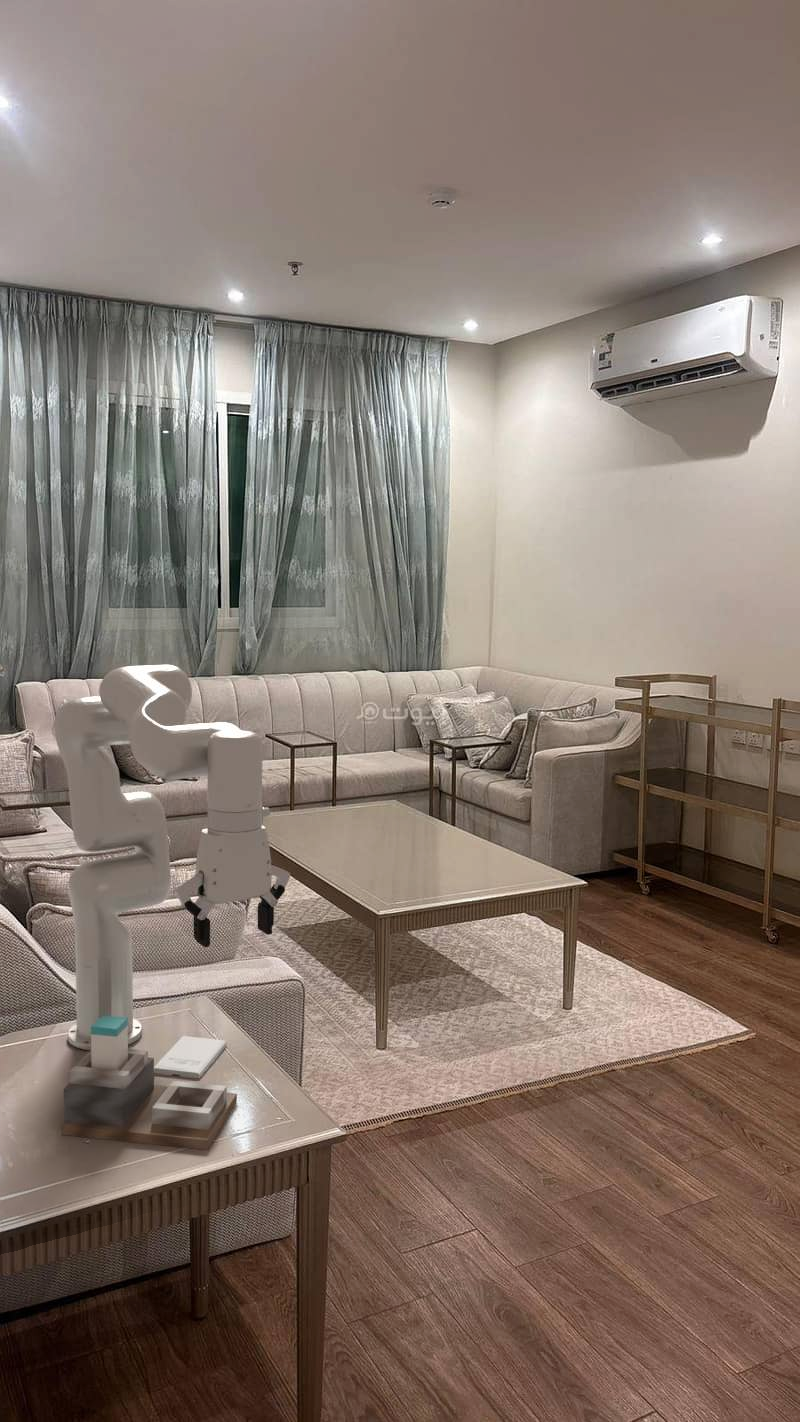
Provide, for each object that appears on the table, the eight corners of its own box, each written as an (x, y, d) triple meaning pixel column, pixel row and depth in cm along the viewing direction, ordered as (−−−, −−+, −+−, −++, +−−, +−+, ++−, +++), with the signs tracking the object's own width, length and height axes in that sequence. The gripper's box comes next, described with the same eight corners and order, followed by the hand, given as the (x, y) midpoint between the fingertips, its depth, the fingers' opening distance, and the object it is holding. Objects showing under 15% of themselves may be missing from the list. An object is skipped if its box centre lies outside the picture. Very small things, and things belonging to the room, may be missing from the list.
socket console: (61, 1134, 157) (60, 1079, 156) (101, 1089, 171) (101, 1038, 170) (207, 1150, 154) (207, 1093, 153) (236, 1102, 167) (236, 1050, 166)
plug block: (91, 1077, 161) (90, 1026, 160) (103, 1065, 165) (102, 1015, 164) (117, 1080, 160) (116, 1028, 159) (128, 1068, 164) (127, 1017, 163)
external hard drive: (226, 1049, 187) (199, 1082, 175) (182, 1044, 189) (152, 1076, 177) (226, 1040, 187) (199, 1072, 175) (181, 1035, 189) (152, 1066, 176)
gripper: (276, 807, 159) (275, 920, 161) (165, 821, 149) (166, 941, 151) (302, 818, 153) (300, 934, 155) (188, 833, 143) (188, 957, 145)
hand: (234, 937), depth 153 cm, fingers open, 9 cm apart
